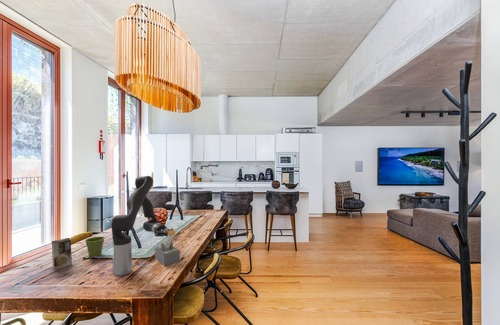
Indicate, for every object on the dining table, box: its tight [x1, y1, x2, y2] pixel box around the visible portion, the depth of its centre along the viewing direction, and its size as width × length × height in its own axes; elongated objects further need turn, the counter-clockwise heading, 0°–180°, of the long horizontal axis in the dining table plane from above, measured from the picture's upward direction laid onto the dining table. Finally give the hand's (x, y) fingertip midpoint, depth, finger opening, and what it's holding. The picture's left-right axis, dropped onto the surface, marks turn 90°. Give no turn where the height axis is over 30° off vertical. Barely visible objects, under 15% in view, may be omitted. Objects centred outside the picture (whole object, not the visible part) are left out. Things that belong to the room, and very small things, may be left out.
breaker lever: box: [164, 229, 176, 248], centre depth 159 cm, size 2×4×15 cm
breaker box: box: [154, 240, 181, 267], centre depth 163 cm, size 16×10×11 cm, turn 40°
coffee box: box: [51, 237, 73, 270], centre depth 157 cm, size 9×6×16 cm
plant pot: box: [84, 236, 106, 258], centre depth 173 cm, size 12×12×11 cm
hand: (169, 235), depth 159 cm, fingers closed
